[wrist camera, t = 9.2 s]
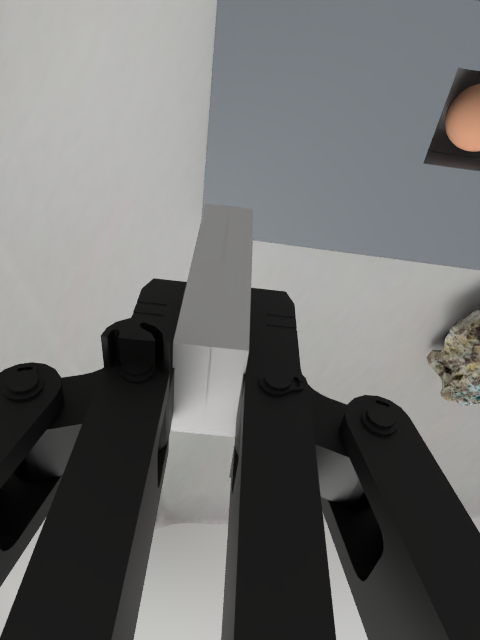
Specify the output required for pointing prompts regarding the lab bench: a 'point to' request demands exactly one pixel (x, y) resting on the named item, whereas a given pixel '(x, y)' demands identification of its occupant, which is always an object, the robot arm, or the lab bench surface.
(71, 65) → the lab bench surface
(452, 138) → the ball
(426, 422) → the lab bench surface
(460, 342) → the mineral specimen
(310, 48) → the grey flat block
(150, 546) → the robot arm
